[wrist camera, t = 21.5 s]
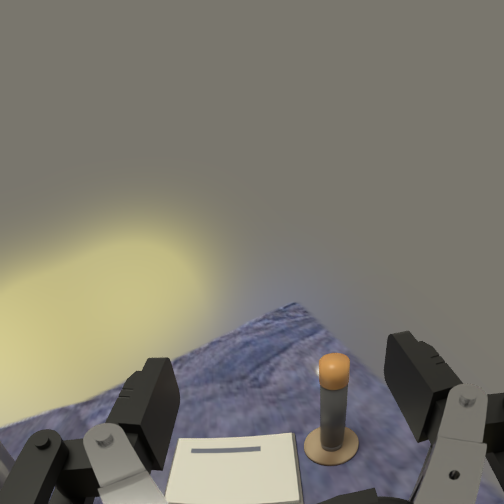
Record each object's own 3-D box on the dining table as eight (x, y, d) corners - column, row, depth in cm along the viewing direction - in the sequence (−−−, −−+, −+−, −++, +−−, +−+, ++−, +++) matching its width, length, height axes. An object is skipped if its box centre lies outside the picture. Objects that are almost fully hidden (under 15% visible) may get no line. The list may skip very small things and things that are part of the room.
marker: (321, 454, 33) (321, 372, 30) (317, 437, 37) (316, 355, 33) (346, 450, 33) (353, 367, 30) (341, 433, 36) (345, 351, 33)
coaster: (307, 469, 32) (307, 467, 32) (301, 431, 39) (301, 429, 39) (363, 459, 32) (364, 457, 32) (351, 423, 38) (351, 420, 38)
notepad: (162, 507, 27) (159, 503, 27) (178, 440, 39) (176, 436, 39) (303, 506, 27) (303, 502, 26) (294, 434, 38) (294, 429, 38)
